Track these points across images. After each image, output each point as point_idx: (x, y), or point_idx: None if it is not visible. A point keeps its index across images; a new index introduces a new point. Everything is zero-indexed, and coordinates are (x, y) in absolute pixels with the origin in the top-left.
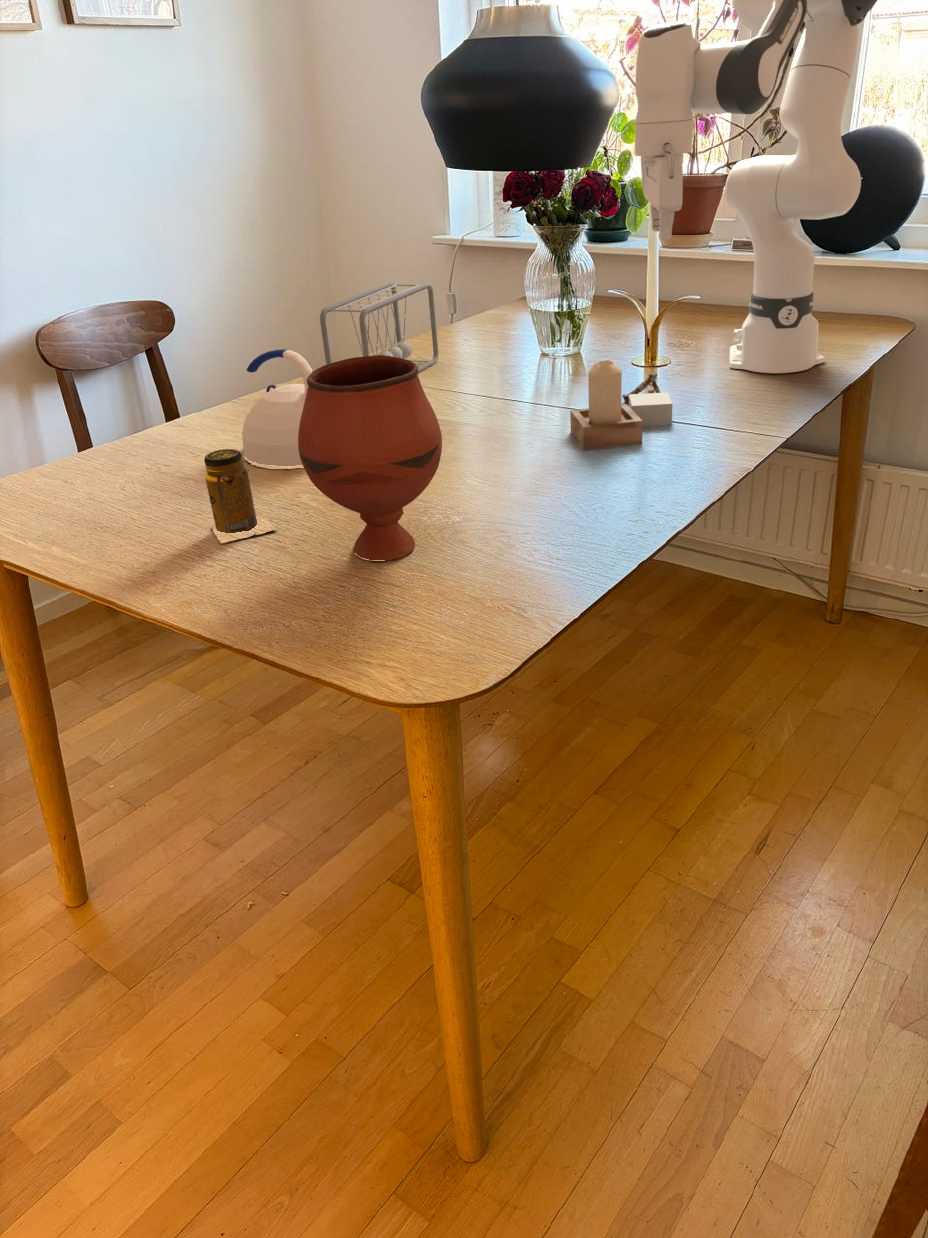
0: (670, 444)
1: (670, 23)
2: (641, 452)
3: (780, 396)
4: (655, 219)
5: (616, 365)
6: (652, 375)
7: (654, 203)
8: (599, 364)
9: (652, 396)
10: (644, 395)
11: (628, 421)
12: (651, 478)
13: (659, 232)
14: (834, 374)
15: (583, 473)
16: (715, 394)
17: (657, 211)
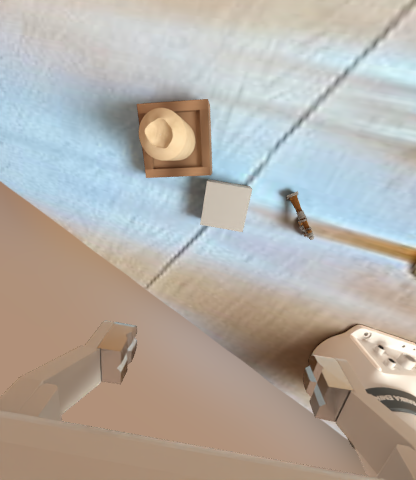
0: (146, 201)
1: None
2: (130, 168)
3: (249, 327)
4: (348, 400)
5: (162, 153)
6: (308, 233)
7: (16, 441)
8: (168, 127)
9: (233, 212)
10: (241, 205)
11: (146, 161)
12: (62, 160)
13: (122, 335)
14: (290, 383)
15: (80, 95)
16: (279, 284)
17: (377, 444)
